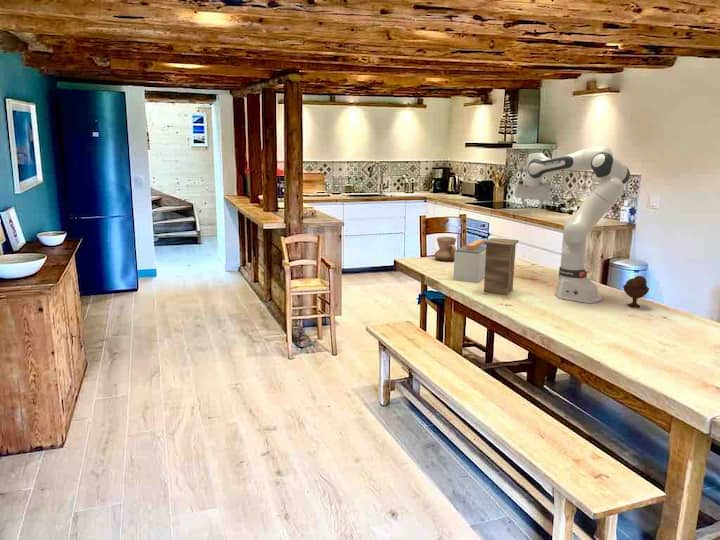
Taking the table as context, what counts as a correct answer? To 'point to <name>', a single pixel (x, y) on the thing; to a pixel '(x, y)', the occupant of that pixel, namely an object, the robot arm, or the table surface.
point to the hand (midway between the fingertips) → (531, 207)
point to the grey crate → (469, 264)
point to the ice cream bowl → (636, 289)
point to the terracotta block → (475, 244)
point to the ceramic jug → (446, 248)
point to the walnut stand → (499, 265)
